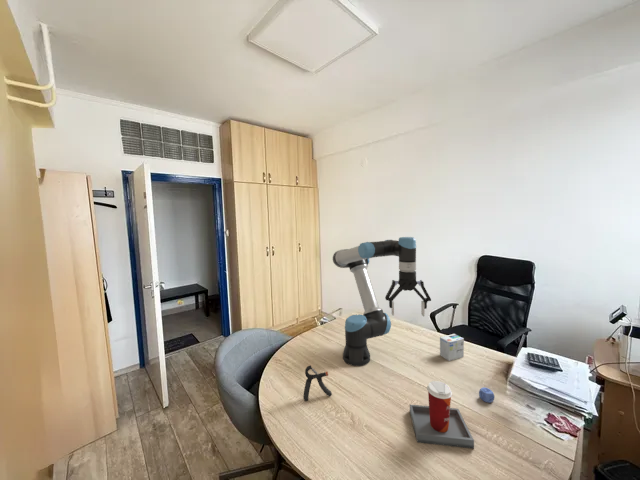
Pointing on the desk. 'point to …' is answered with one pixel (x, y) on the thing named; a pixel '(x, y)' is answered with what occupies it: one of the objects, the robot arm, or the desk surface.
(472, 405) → the desk surface
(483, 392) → the decorative dice
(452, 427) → the tray
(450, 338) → the light bulb box
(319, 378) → the hand grip strengthener
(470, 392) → the desk surface
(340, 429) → the desk surface
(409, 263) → the robot arm
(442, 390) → the coffee cup
